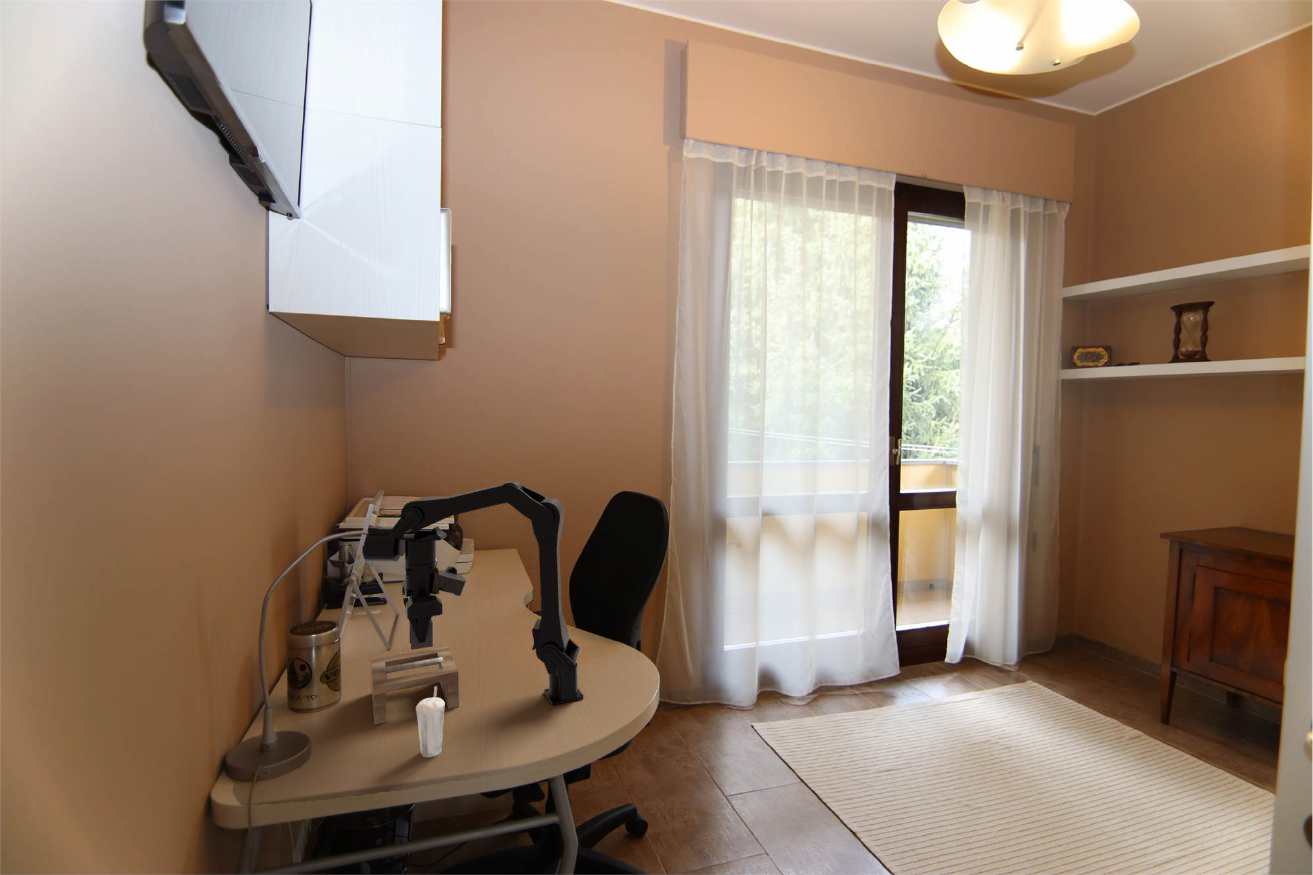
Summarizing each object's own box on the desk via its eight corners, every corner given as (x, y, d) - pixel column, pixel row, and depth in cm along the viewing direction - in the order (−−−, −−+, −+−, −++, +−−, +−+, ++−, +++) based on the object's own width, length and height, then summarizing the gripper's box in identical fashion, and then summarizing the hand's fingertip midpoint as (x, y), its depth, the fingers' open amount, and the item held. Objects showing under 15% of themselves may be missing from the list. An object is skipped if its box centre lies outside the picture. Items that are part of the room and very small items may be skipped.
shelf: (459, 706, 119) (458, 668, 119) (374, 724, 112) (373, 684, 112) (448, 678, 132) (448, 643, 131) (371, 693, 125) (370, 656, 125)
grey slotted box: (432, 646, 122) (432, 622, 121) (411, 649, 120) (411, 625, 120) (430, 639, 125) (430, 616, 125) (409, 642, 123) (409, 619, 123)
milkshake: (450, 742, 106) (449, 685, 106) (440, 759, 101) (439, 700, 101) (424, 742, 106) (422, 686, 106) (413, 760, 101) (411, 701, 101)
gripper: (470, 568, 117) (470, 649, 118) (456, 547, 134) (456, 618, 134) (407, 574, 112) (407, 658, 113) (400, 552, 129) (401, 625, 129)
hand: (420, 638), depth 122 cm, fingers closed on grey slotted box, 4 cm apart
